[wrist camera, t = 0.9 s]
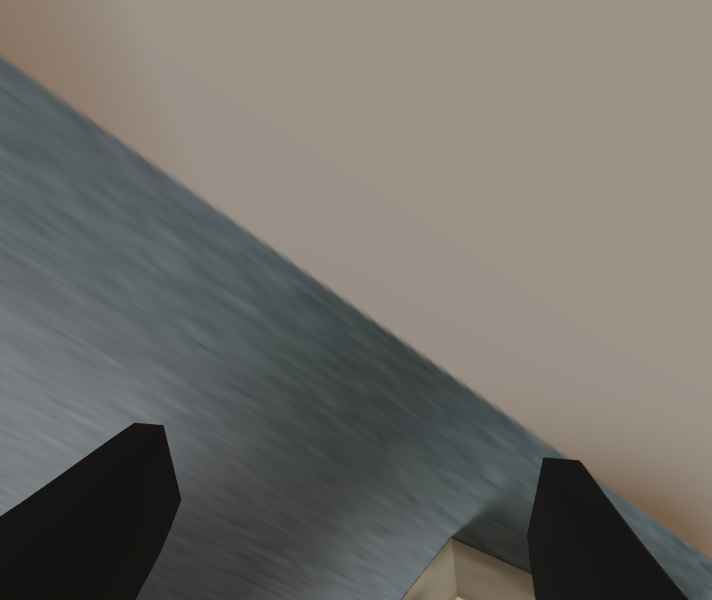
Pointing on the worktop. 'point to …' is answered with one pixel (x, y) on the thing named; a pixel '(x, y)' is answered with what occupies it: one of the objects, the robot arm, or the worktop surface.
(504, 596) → the birch plinth
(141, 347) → the worktop surface
